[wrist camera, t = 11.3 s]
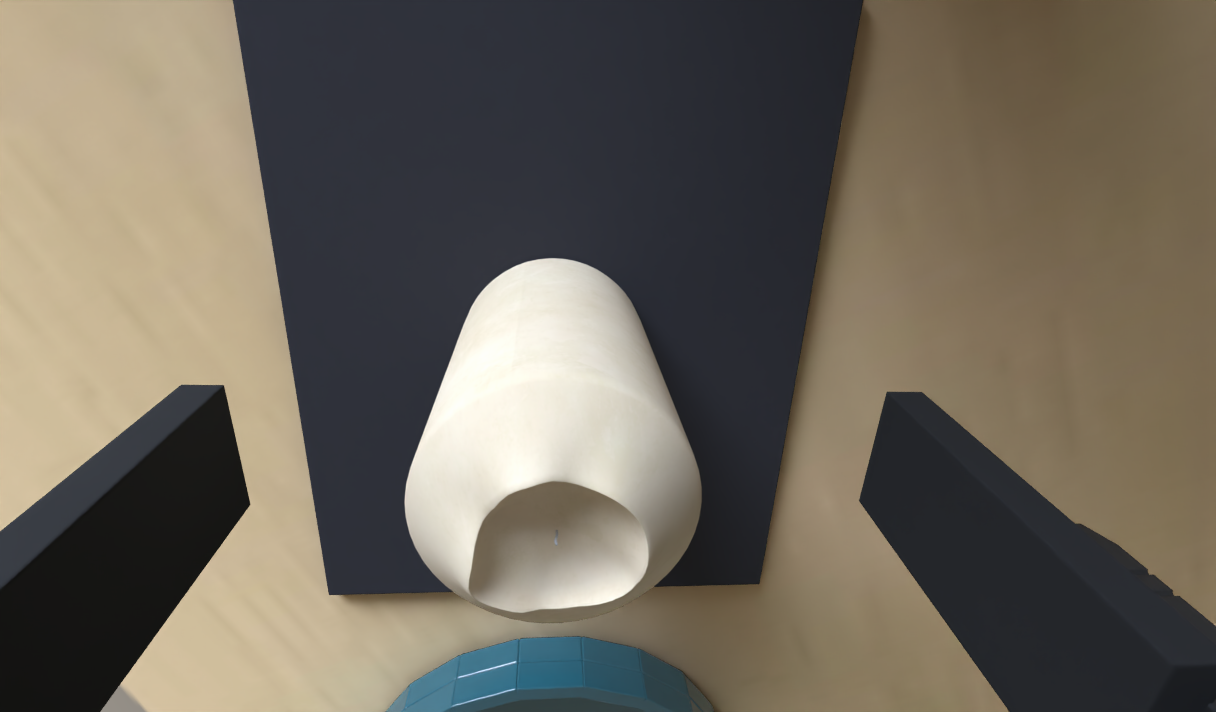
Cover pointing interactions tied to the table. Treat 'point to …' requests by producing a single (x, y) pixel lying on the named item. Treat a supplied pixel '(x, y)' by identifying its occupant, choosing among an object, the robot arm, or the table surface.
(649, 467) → the candle
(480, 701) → the dish
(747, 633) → the table surface
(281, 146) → the mat
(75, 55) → the table surface
